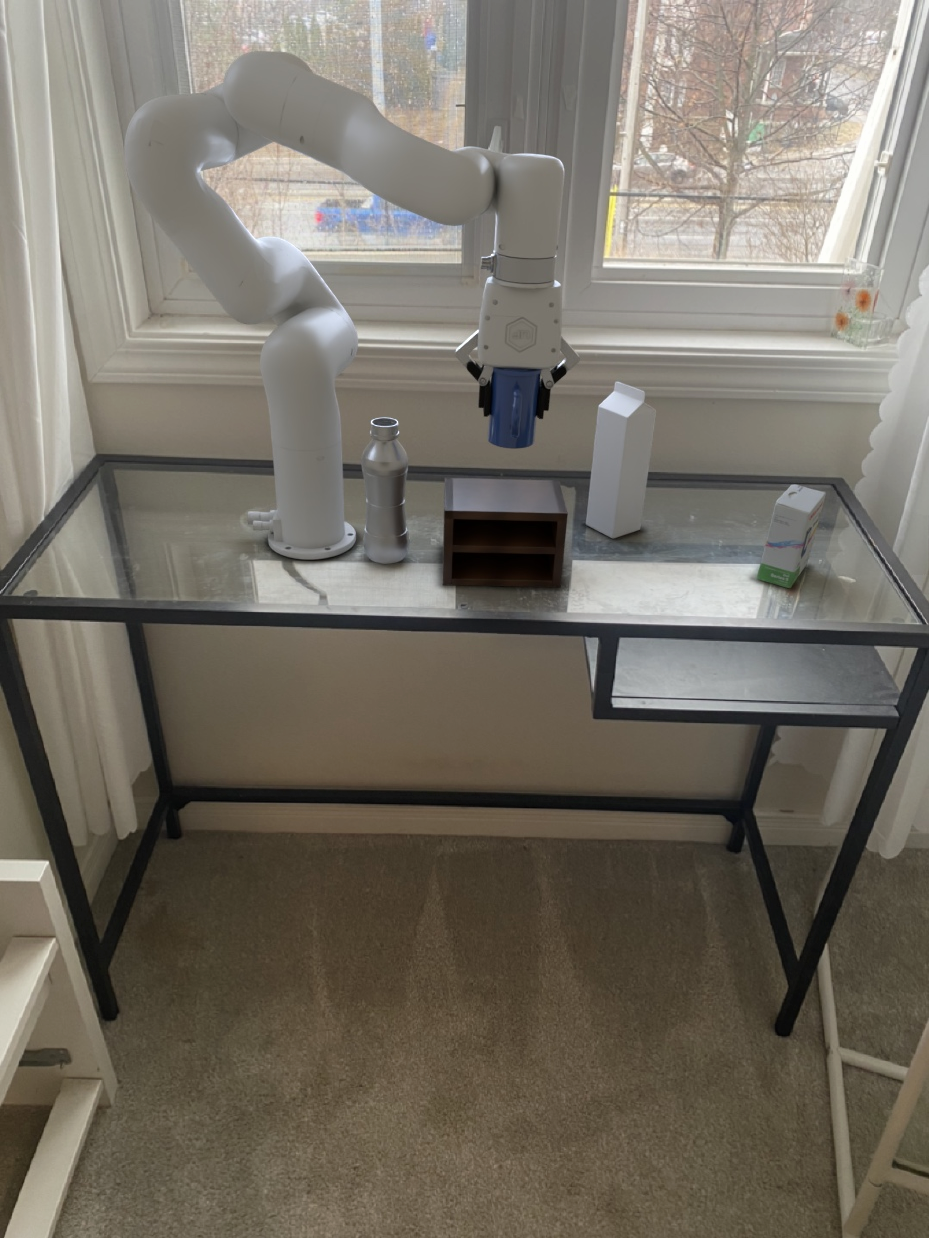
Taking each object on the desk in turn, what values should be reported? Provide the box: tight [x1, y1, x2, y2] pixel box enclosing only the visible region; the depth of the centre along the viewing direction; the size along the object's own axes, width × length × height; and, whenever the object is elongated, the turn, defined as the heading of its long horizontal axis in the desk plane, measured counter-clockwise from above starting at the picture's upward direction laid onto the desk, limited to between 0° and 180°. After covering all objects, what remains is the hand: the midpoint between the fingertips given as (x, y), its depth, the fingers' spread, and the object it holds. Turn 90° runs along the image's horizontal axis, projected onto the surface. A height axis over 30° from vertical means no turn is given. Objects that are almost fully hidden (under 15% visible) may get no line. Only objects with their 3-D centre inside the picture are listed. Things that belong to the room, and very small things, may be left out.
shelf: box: [442, 477, 569, 588], centre depth 132 cm, size 16×11×11 cm
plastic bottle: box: [360, 417, 410, 565], centre depth 131 cm, size 6×7×20 cm
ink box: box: [756, 483, 827, 589], centre depth 133 cm, size 9×5×12 cm, turn 148°
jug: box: [486, 367, 542, 450], centre depth 123 cm, size 7×10×10 cm, turn 1°
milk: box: [585, 380, 657, 539], centre depth 142 cm, size 6×6×22 cm
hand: (512, 413), depth 124 cm, fingers closed on jug, 6 cm apart
